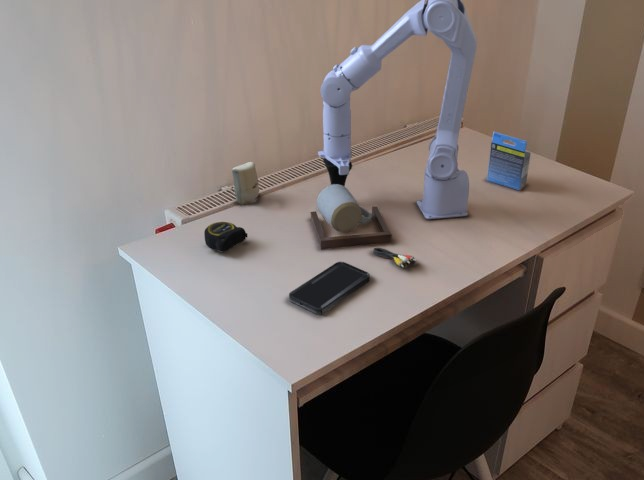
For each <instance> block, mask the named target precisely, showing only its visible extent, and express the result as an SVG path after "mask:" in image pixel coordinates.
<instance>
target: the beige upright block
mask: <svg viewBox="0 0 644 480" xmlns="http://www.w3.org/2000/svg"><path fill="white" fill-rule="evenodd" d="M231 173H232V179H233V186H234V193H235V199H236V203H237V204H239V205H243V206H244V205H247V204H250V205H251V204H254V203H256V202H257V201H258V199H259V194H260V186H259V177H258V173H257V169H256V163H255V162H254V161H248V162H245V163H243V164H239V165H237V166H235V167H232V169H231Z"/></svg>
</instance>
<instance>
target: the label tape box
mask: <svg viewBox="0 0 644 480" xmlns="http://www.w3.org/2000/svg"><path fill="white" fill-rule="evenodd" d="M505 141H506V142H505ZM508 141H510V143H507V142H508ZM511 143H513V144H511ZM527 144H528V140H524V139H521V138H517V137H514V136H510V135H507V134H505V133H501V132H497V131H495V130H493V133H492V139H491V142H490V149H489V150H490V151H489V158H488V159H489V160H488V166H487V167H488V168H487V175H486V181H487V182H490V183H494V184H496V185H500V186H504V187H507V188H510V189H513V190H517V191H521V190H522V189H524V187H525V186H526V185H527V181H528V175H529V174H528V173H529V169H530V168H529V167H530V160H531V153H532V152H530V151H527V150H526V149H527Z"/></svg>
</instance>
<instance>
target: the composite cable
mask: <svg viewBox="0 0 644 480" xmlns="http://www.w3.org/2000/svg"><path fill="white" fill-rule="evenodd" d="M372 253H373V254H374V255H375V256H380V257H383V258H389V259H391V260H392V261H393V262H394V264H395V265H397V266H398V267H400V268H402V269H405V268H406V269H407V270H408V268H409V266H412V265H415V263H416V262H417V259H416V257H414V256H413V255H408V254H399V253H394V252H392V251H390V250H388V249H386V248H384V247H383V248H382V247H374V248H373V252H372Z"/></svg>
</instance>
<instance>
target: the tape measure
mask: <svg viewBox="0 0 644 480" xmlns="http://www.w3.org/2000/svg"><path fill="white" fill-rule="evenodd" d="M203 232H204V233H203V234H204V242H205V244H206V245H205V246H207V248H209V249H211V250H212V251H213V250H214V251H218V252H221V253H225V252H228V251H229V250H230V249H232V248H234V247H235V246H237V245H239V244H241V243H243V242H244V241H245V240H246V239H247V238H248V233H247V232H246V230H245V229H244V228H243V227H241V226H236V224H235V223H232V222H228V221H218V222H213V223H211V224H209V225H208V226H207V227H206V228H205V229H204V231H203Z"/></svg>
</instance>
